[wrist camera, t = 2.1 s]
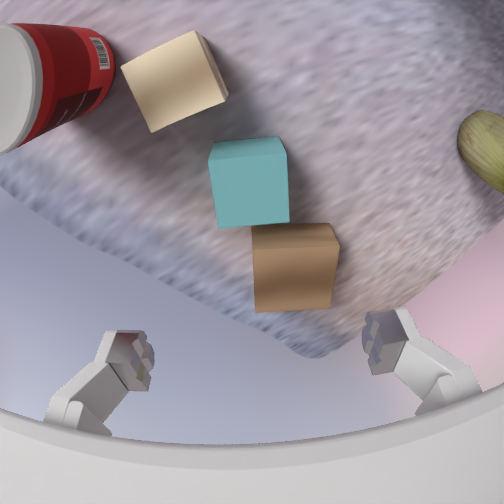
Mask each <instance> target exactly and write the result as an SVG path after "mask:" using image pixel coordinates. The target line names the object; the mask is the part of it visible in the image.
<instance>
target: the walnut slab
mask: <svg viewBox="0 0 504 504" xmlns="http://www.w3.org/2000/svg"><path fill="white" fill-rule="evenodd" d="M252 246H253V270H254V295H255V313H258V312H279V311H297V310H312V309H326V308H330V303H331V298H332V292H333V286H334V281H335V275H336V268H337V262H338V255H339V249H340V245H339V243H338V241H337V239H336V237H335V234H334V232H333V230H332V228H331V226H330V224H329V223H312V224H282V225H256V226H252Z"/></svg>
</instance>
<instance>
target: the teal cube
mask: <svg viewBox="0 0 504 504" xmlns="http://www.w3.org/2000/svg"><path fill="white" fill-rule="evenodd" d="M208 167H209V174H210V180H211V186H212V192H213V199H214V205H215V211H216V217H217V223H218V229H219V228H230V227H240V226H251V225H262V224H274V223H285V222H290V221H289V195H288V173H287V154H286V151H285V149H284V147H283V145H282V143H281V141H280V139H279V136H276V137H263V138H252V139H241V140H232V141H223V142H214V145H213V148H212V150H211V153H210V156H209V159H208Z"/></svg>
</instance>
